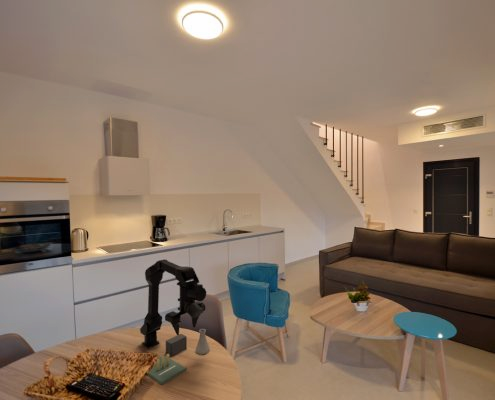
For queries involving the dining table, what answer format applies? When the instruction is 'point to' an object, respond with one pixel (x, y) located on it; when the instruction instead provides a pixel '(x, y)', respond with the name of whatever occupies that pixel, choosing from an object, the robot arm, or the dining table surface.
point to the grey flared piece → (202, 343)
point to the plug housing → (176, 344)
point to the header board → (165, 369)
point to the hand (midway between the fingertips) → (186, 331)
